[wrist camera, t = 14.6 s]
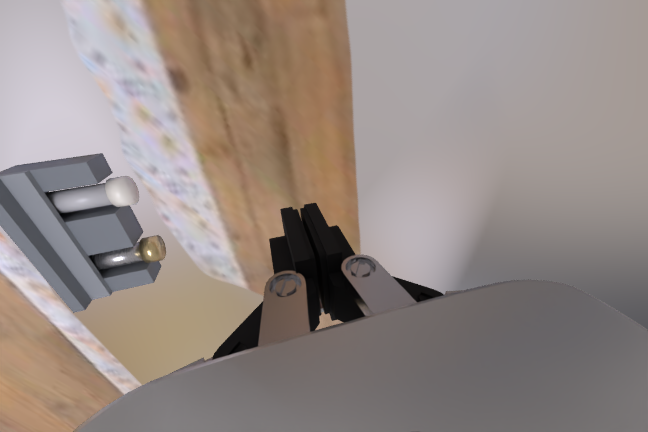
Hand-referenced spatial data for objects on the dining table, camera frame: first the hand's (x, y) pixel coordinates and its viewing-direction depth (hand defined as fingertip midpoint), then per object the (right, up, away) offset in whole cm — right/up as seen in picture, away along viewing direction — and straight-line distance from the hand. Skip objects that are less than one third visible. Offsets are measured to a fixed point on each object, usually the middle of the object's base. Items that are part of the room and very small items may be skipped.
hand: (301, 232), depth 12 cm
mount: (-33, 0, +27) cm, 43 cm away
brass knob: (-30, -4, +30) cm, 43 cm away
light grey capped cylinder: (-31, +4, +25) cm, 40 cm away
